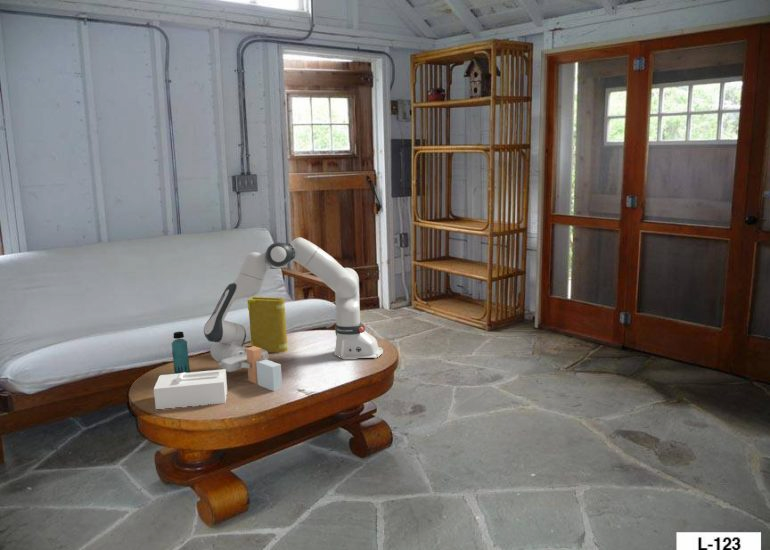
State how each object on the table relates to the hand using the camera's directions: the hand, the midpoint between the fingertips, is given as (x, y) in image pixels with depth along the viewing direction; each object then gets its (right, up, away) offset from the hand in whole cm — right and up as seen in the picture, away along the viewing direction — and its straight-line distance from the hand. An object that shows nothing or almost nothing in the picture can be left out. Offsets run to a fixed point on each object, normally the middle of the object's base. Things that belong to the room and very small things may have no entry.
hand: (256, 364), depth 251 cm
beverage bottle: (-33, -7, +9) cm, 35 cm away
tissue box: (-21, -12, -14) cm, 28 cm away
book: (-2, +1, +42) cm, 42 cm away
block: (0, -7, +2) cm, 8 cm away
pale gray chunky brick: (+6, -8, -4) cm, 11 cm away
